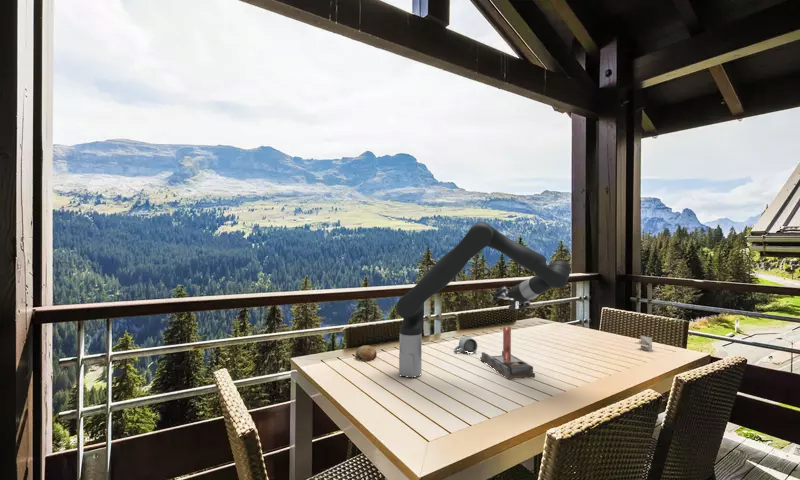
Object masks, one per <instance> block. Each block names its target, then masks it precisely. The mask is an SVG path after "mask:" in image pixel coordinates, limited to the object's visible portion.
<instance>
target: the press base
mask: <svg viewBox="0 0 800 480" xmlns="http://www.w3.org/2000/svg"><path fill="white" fill-rule="evenodd" d="M511 356H512V357H514V358H515V359H517V360H519V361H521V364H519V363H517V362H513V363H512V364H511V365H508V367H507V366H505V365H504V364H502V363H501V362H499V361H497V360H496V359H494V357H503V350H502V351H501V354H500V355H489V354H488V353H486V352H485V351H483V352H481V356H480V359H481V360H482V361H484V362H485V363H487V364H488V365H490V366H491V367H492V368H494V369H495V370H496V371H495V370H494V369H493V370H494V371H495V372H497V371H498V372H499V373H500V374H499V373H498V372H497V373H498V374H499V375H501V374H502V375H503V376H502V375H501V376H502V377H504V376H505V377H506V378H505V377H504V378H505V379H507V380H508V379H509V380H515V379H514V378H521V379H526V378H525V377H532V378H535V377H536V373H535V372H534V366H533V365H531V364H529V363H528V362H525V361H524V360H522V359H520V358H519V357H516V356H514V355H513V354H511ZM481 360H480V361H481ZM482 361H481V362H482ZM484 362H483V363H484ZM485 363H484V364H485ZM488 365H487V366H488ZM491 367H490V368H491ZM492 368H491V369H492Z"/></svg>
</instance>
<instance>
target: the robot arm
mask: <svg viewBox="0 0 800 480" xmlns="http://www.w3.org/2000/svg"><path fill="white" fill-rule="evenodd" d="M486 247H489V248H492V249H494V250H496V251H498V252H500V253H501V254H503V255H505V256H507V257H508V258H509V259H510V260H511V261H513V262H515V263H516V264H518V265H520V266H521V267H523V268H526V269H527V270H529V271H530V272H533V273H535V275H534V276H531V278H528V279H525V280H523V281H522V282H520V283H518V284H516V285H514V286H513V288H511V289H509V288H508V287H507V285H502V286H500V287H498V288H496V289H495V293H494V295H493V296H492V301H493V302H497V301H498V300H499V299H503V300H508V301H510V302H511V303H512V304H511V305H509V306H508V311H513V310H516V309H517V310H518V309H519V310H520V311H523V310H525V309H527V308H529V307H530V306H531V300H533V299H535V298H537V297H538V296H540V295H541V294H544V293H546V292H548V291H549V290H551V288H556V289H562V288H564V287H566V285H567V284H568V280H569V277H570V275H571V266H570V264H569V263H567V262H566V261H564V260H555V261H553V262H551V263H549V264H547V258H546V257H545V256H544V255H543V254H541V253H539V252H537V251H536V250H533V249H531V248H529V247H527V246H525V245H522V244H521V243H519V242H517V241H514V240H512V239H510V237H508V236H506V235H504V234H503V233H501V232H499V231H498V230H497V229H495V227H493V226H492V225H490V224H489V223H487V222H484V221H479V222H476V223H475V224H473V225H472V226H471V227H470V228H469V230H468V231H467V232H466V234H465V235H464V236H463V238H462V239H461V240H460V241H459V243H458V244H456V246H455V247H454V248H452V249H451V250H449V251H448V252H447V253H445V254H444V255H443V256H442V257H440V258H439V260H437V262H435V264H434V265H433V266H432V267H431V268H429V270H428V271H427V272H426V273H425V274H424V275H423V276H422V278H421V279H420V280H419V281H418V282H417V284H415V286H413V287H412V288H411V289H410V290H409V291H407V292H406V293H404V295H402V296H401V297H400V298H399V299H398V300H397V303H396V307H395V308H396V314H398V316H400V317H401V318H403V319H402V322H401V324H400V326H399V354H398V356H399V359H398V362H399V363H398V376H399V375H401V376H408V377H414V376H418V375H420V374H421V375H422V370H423V369H422V362H423V360H422V357H423V356H422V354H423V353H422V350H423V349H422V347H423V346H422V343H423V342H422V338H423V337H422V335H423V334H422V330H423V326H424V320H425V319H424V318H425V317H424V315H425V314H424V313H425V305H424V303H425V302H427V300H428V299H429V298H431V297H432V296H434V295H435V294H437V293H439V292H440V291H441V290H442V289H444V288H445V287H446V286H447V285H449V283H451V282H452V281H453V280H454V279H455V278H456V277H457V276H458V275H459V273H461V271H462V270H463V269H464V267H466V265H467V264H468V262H470V260H471V259H472V258H473V257H475V256H476V255H477V254H478V253H480V252H482V250H484V249H486ZM401 376H400V377H401Z"/></svg>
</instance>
